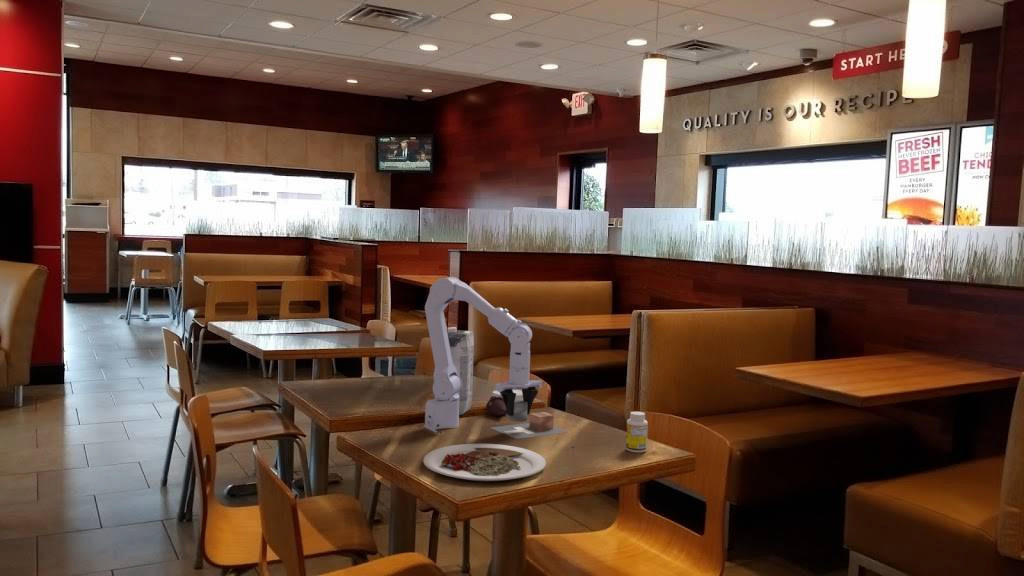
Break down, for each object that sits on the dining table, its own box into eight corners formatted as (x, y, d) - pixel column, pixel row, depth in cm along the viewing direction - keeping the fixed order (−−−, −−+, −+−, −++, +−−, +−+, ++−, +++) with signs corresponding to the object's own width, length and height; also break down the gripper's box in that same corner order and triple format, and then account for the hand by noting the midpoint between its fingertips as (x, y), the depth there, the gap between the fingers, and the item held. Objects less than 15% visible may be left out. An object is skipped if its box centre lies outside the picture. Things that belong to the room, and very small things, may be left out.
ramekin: (487, 405, 263) (487, 389, 262) (517, 403, 267) (518, 388, 267) (499, 412, 252) (500, 396, 252) (531, 410, 257) (532, 394, 256)
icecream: (517, 402, 238) (504, 396, 253) (495, 396, 236) (482, 391, 251) (512, 424, 238) (498, 417, 252) (489, 419, 236) (477, 412, 250)
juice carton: (473, 409, 255) (476, 326, 253) (463, 416, 245) (466, 330, 243) (447, 407, 257) (450, 325, 255) (437, 413, 247) (439, 328, 245)
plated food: (569, 477, 188) (570, 463, 187) (455, 493, 173) (456, 478, 172) (507, 445, 213) (508, 433, 213) (404, 458, 199) (404, 445, 198)
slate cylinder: (515, 422, 221) (516, 404, 220) (506, 418, 225) (506, 401, 225) (530, 420, 223) (531, 403, 223) (520, 416, 228) (521, 399, 227)
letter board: (516, 442, 216) (516, 438, 216) (489, 430, 228) (489, 427, 228) (568, 435, 226) (568, 431, 226) (540, 424, 237) (540, 421, 237)
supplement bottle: (628, 446, 216) (630, 409, 215) (648, 449, 213) (650, 412, 213) (623, 451, 210) (624, 413, 210) (643, 454, 208) (645, 416, 208)
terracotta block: (539, 430, 226) (539, 417, 225) (529, 426, 230) (529, 413, 230) (553, 429, 228) (553, 415, 228) (543, 425, 232) (543, 411, 232)
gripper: (505, 371, 216) (504, 419, 217) (548, 367, 224) (547, 414, 225) (492, 367, 222) (490, 414, 223) (534, 363, 230) (533, 409, 231)
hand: (518, 414), depth 224 cm, fingers closed on slate cylinder, 5 cm apart
